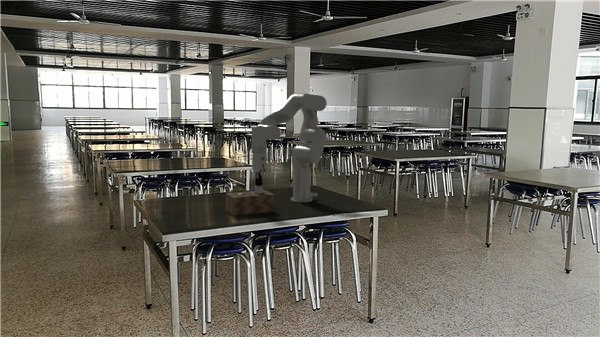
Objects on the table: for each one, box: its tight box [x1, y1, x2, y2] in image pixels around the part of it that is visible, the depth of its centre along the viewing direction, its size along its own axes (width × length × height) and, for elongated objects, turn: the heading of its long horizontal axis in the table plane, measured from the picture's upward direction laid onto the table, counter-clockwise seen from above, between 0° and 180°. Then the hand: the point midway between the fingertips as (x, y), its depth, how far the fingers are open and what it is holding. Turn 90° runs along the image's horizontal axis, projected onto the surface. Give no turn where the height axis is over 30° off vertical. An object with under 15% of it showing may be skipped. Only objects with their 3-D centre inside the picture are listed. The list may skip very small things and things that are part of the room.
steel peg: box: [254, 184, 264, 194], centre depth 236 cm, size 4×4×8 cm
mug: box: [229, 188, 249, 193], centre depth 251 cm, size 12×10×10 cm
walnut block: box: [225, 189, 275, 216], centre depth 234 cm, size 22×12×9 cm, turn 116°
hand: (258, 185), depth 235 cm, fingers closed
